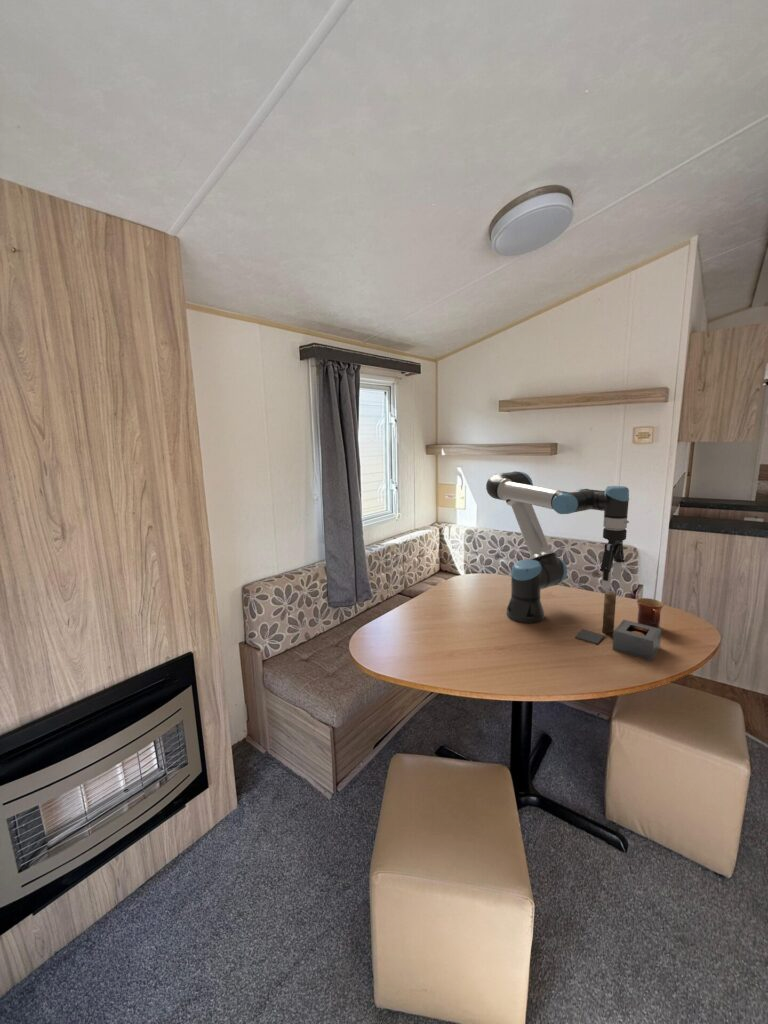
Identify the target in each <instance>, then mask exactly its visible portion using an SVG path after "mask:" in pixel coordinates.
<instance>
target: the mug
mask: <svg viewBox="0 0 768 1024" xmlns="http://www.w3.org/2000/svg"><path fill="white" fill-rule="evenodd" d="M636 603H637V607H638V611H637V618H636V620H637V623H639V624H643V625H647V626H651V627H655V628H659V627H660V624H661V613H662V609H663V607H664V603H663V602H662V601H660V600H657V599H654V598H647V597H646V598H645V597H642V598H638V599H636ZM659 629H660V628H659Z"/></svg>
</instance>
